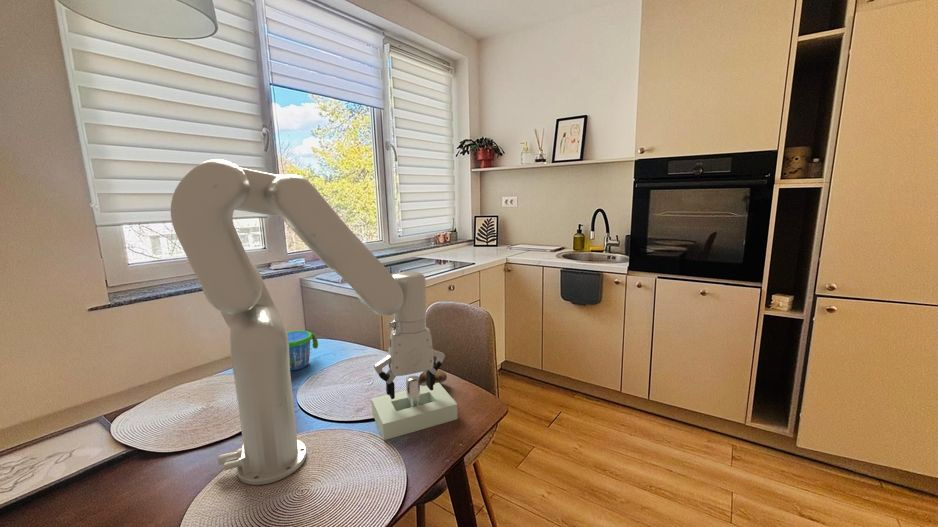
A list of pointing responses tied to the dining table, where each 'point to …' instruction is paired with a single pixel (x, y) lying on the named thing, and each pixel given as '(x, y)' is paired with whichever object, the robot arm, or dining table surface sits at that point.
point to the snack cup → (300, 348)
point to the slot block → (413, 411)
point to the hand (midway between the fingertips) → (411, 392)
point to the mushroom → (439, 377)
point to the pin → (413, 391)
